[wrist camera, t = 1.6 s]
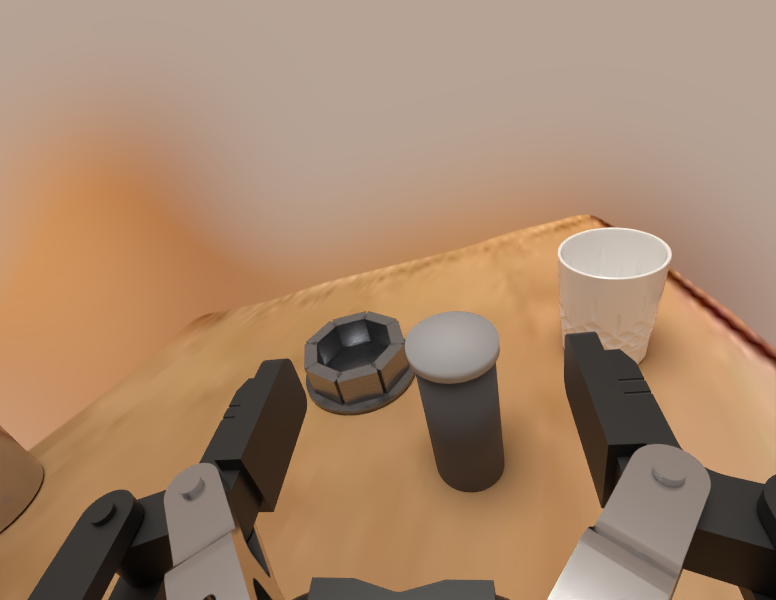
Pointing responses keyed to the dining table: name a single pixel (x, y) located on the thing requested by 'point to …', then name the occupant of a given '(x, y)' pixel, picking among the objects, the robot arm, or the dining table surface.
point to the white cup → (612, 286)
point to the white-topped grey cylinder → (460, 396)
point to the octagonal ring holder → (357, 364)
